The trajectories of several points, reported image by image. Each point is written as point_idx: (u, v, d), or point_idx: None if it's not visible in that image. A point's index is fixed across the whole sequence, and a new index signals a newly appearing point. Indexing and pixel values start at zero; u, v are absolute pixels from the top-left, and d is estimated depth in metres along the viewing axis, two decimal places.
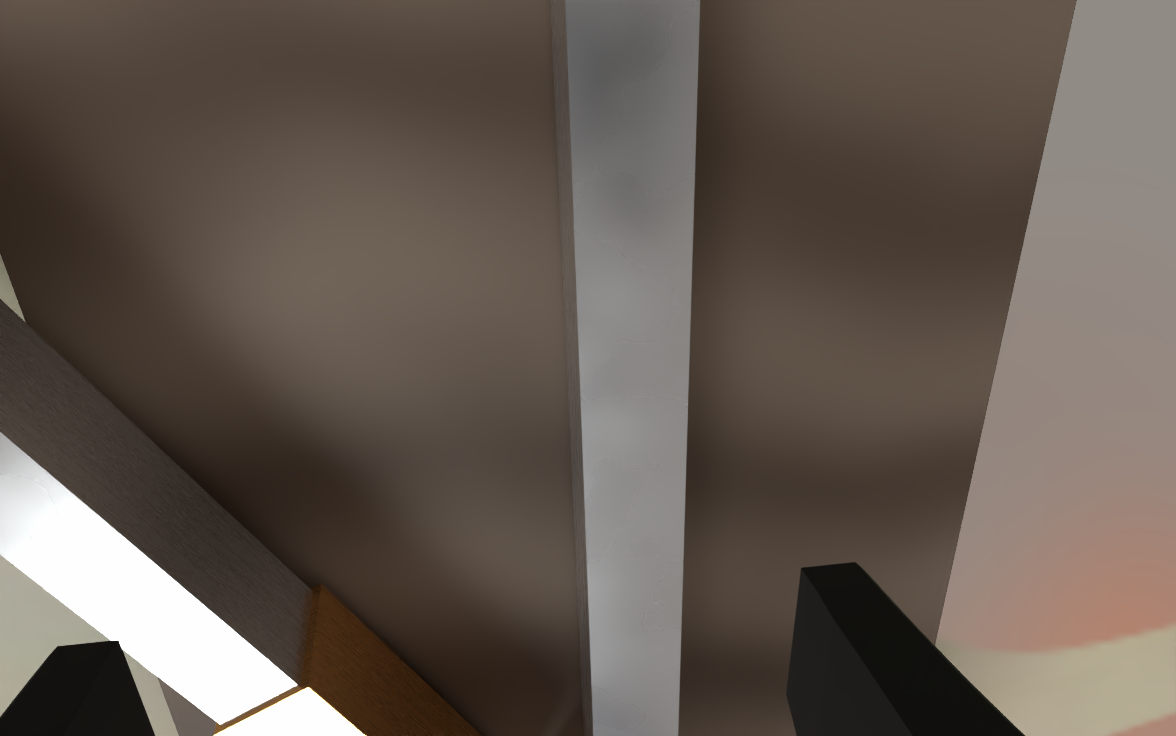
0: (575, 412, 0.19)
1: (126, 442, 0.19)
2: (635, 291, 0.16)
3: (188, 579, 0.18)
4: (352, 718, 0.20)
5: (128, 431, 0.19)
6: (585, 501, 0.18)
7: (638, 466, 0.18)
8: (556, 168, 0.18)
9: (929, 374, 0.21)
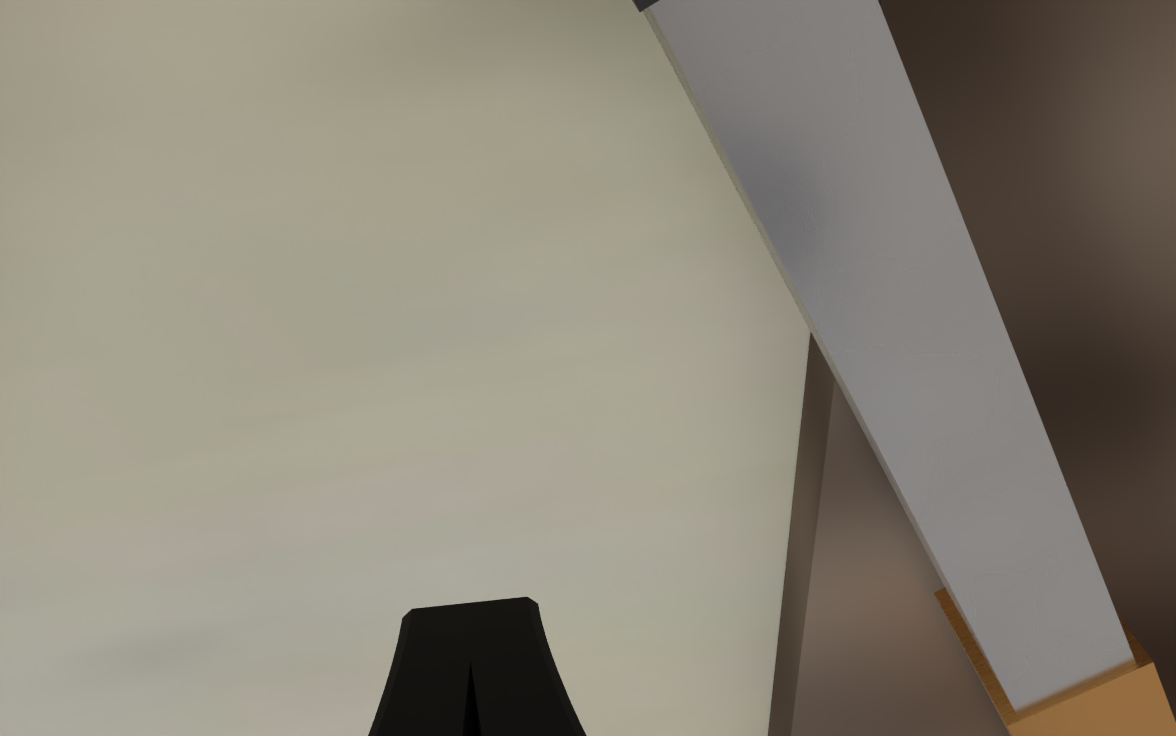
0: None
1: None
2: None
3: (1072, 513, 0.14)
4: (1166, 705, 0.16)
5: None
6: None
7: None
8: None
9: None
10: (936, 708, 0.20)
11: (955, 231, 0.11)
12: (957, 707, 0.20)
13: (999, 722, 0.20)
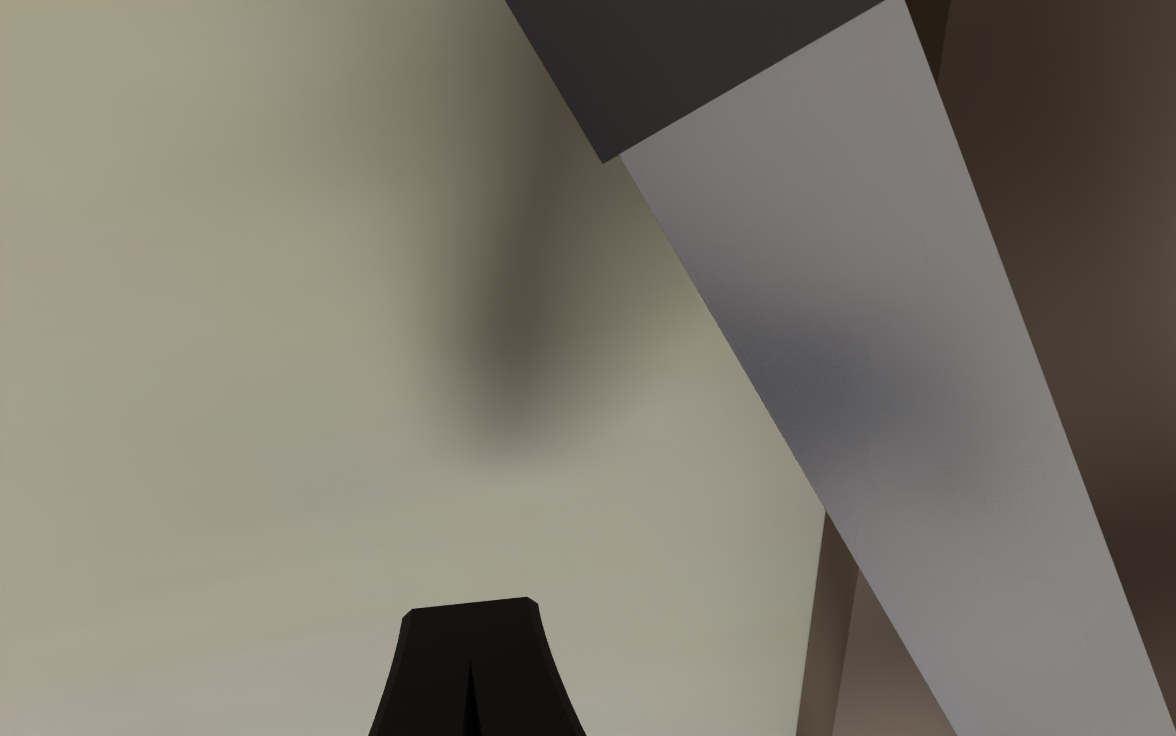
0: None
1: None
2: None
3: None
4: None
5: None
6: None
7: None
8: None
9: None
10: None
11: (1048, 435, 0.08)
12: None
13: None
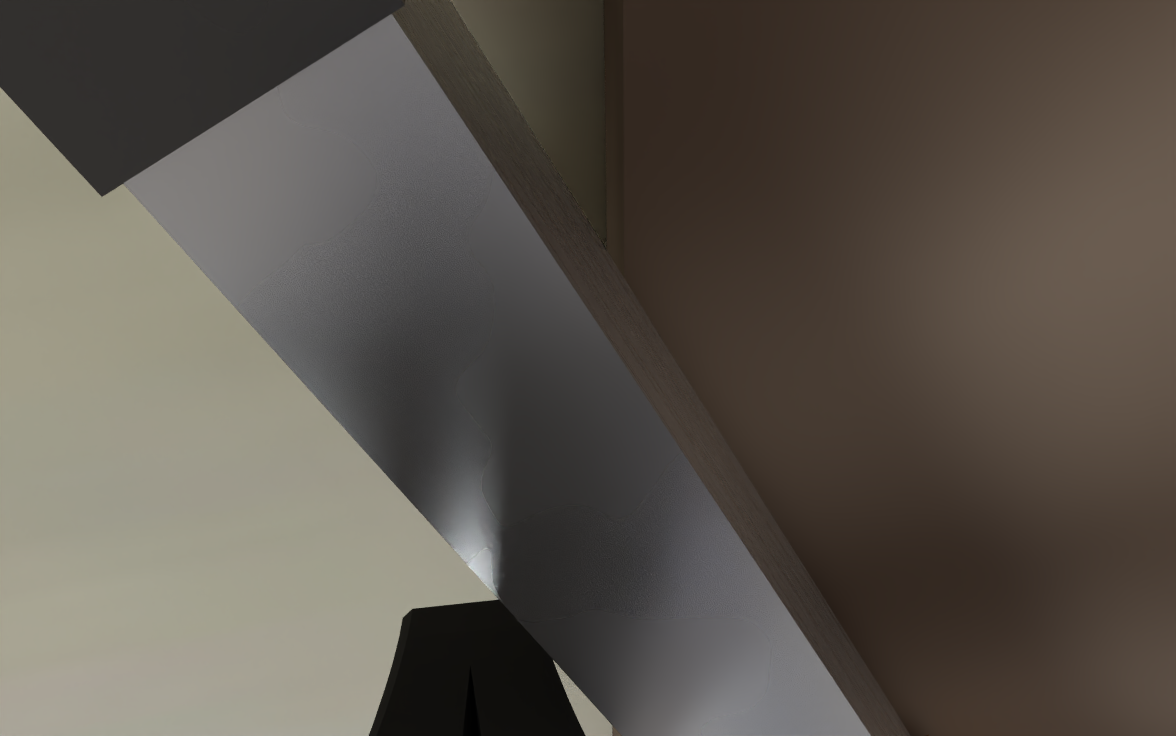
0: None
1: (773, 530, 0.11)
2: None
3: None
4: None
5: (765, 510, 0.11)
6: None
7: None
8: None
9: None
10: None
11: (676, 470, 0.08)
12: None
13: None
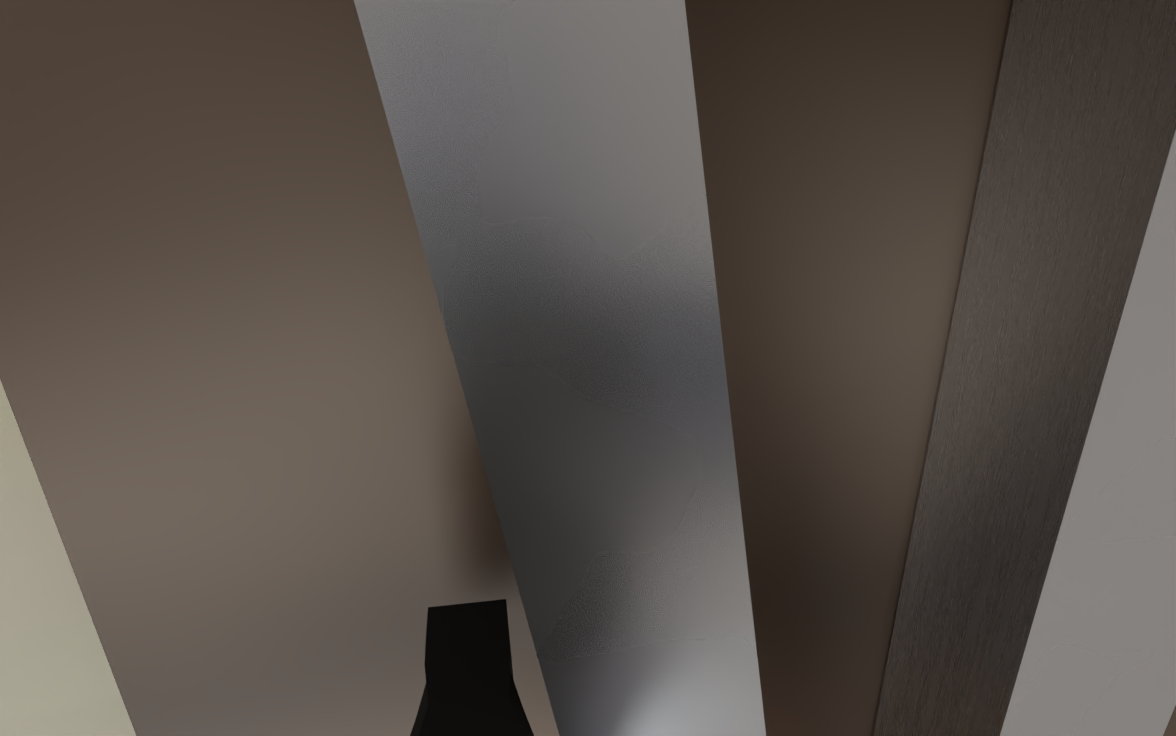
0: (982, 548, 0.10)
1: None
2: None
3: (757, 693, 0.10)
4: None
5: None
6: (1007, 712, 0.10)
7: (1116, 654, 0.10)
8: (986, 108, 0.10)
9: None
10: None
11: (690, 219, 0.07)
12: None
13: None
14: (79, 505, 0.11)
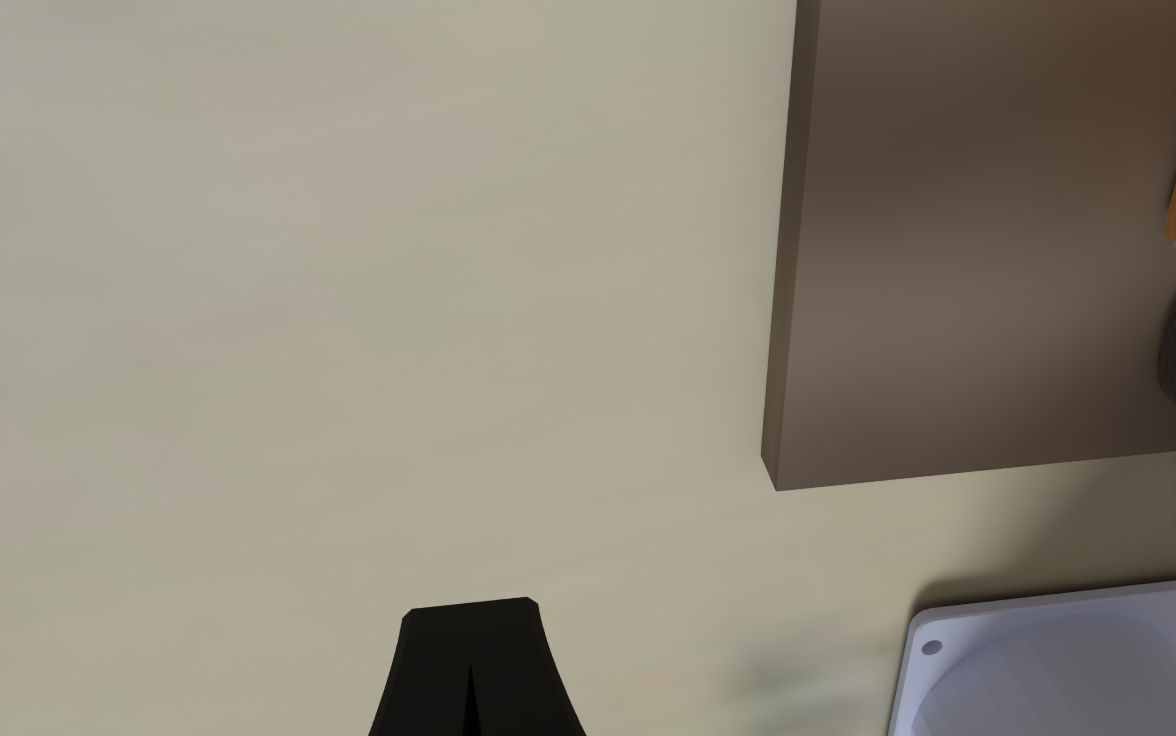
0: None
1: None
2: None
3: None
4: None
5: None
6: None
7: None
8: None
9: None
10: (971, 110, 0.17)
11: None
12: (995, 111, 0.18)
13: (1041, 141, 0.18)
14: None
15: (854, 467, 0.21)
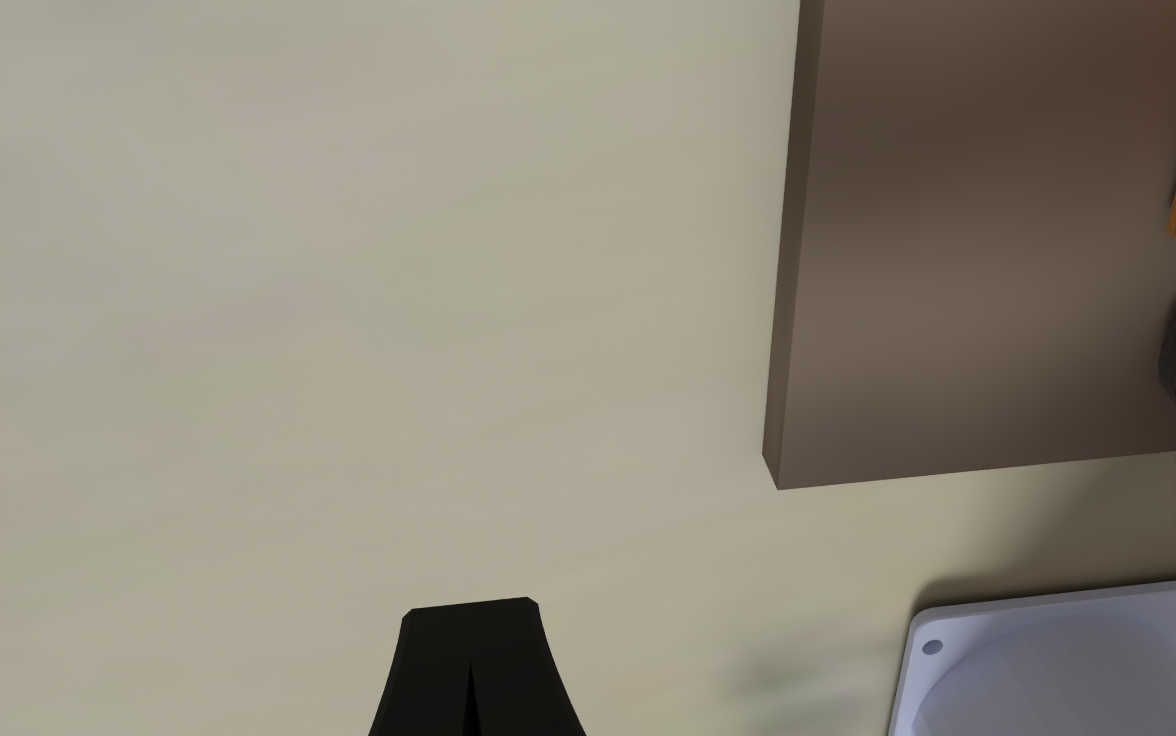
0: None
1: None
2: None
3: None
4: None
5: None
6: None
7: None
8: None
9: None
10: (975, 109, 0.17)
11: None
12: (998, 110, 0.18)
13: (1044, 140, 0.18)
14: None
15: (856, 466, 0.21)
